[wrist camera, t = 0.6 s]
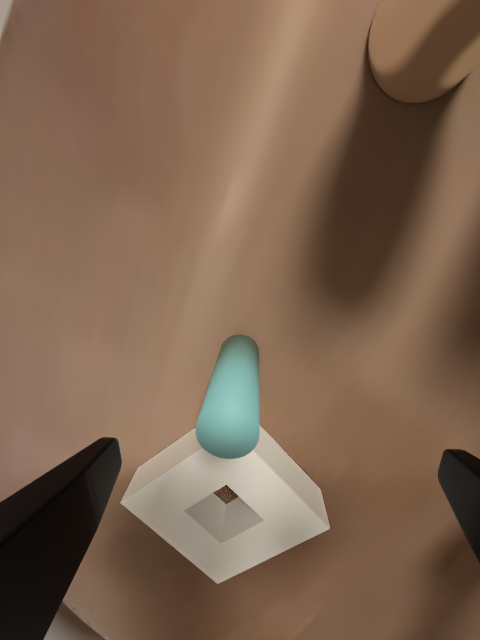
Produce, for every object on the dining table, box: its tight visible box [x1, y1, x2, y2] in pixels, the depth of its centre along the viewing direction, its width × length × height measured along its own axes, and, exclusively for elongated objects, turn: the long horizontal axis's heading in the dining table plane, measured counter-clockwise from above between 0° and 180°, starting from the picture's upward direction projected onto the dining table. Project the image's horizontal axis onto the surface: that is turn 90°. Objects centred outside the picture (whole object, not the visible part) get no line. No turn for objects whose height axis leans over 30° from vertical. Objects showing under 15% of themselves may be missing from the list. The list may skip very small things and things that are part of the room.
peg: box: [196, 335, 259, 459], centre depth 17 cm, size 3×3×9 cm
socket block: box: [120, 425, 330, 584], centre depth 24 cm, size 12×12×4 cm
